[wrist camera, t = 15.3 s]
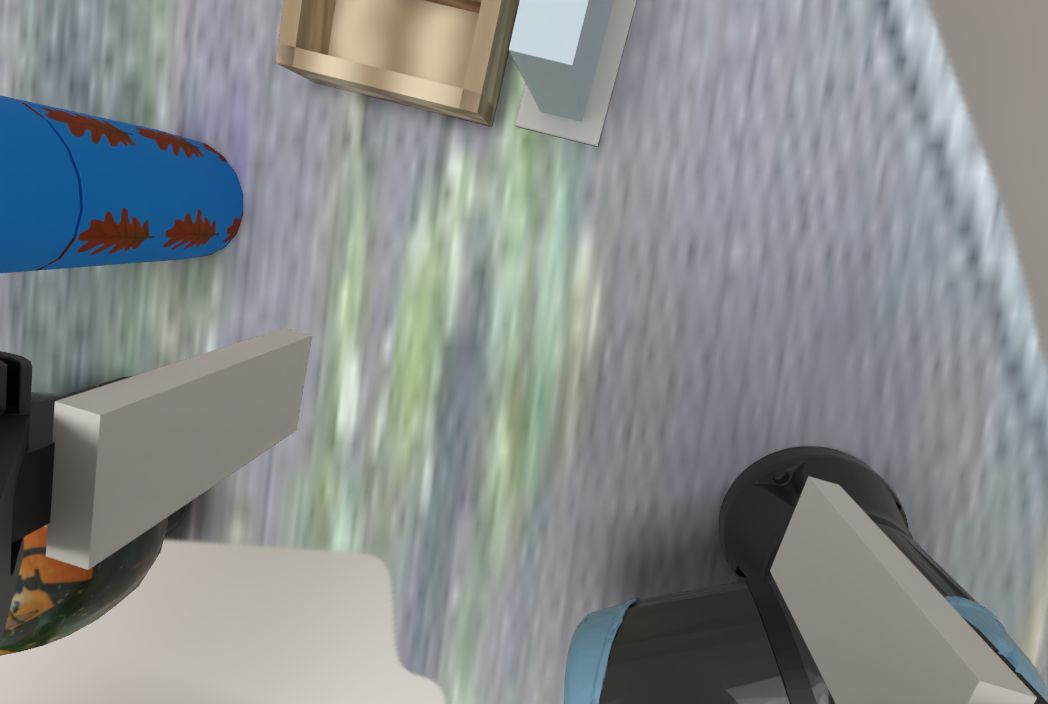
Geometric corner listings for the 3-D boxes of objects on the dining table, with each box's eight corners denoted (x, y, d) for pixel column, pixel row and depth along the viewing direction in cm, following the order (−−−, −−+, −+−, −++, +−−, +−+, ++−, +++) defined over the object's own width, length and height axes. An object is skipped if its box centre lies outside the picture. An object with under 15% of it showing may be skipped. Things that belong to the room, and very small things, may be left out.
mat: (647, -40, 44) (648, -44, 44) (597, 146, 48) (597, 145, 47) (559, -60, 45) (559, -64, 44) (516, 126, 48) (515, 125, 48)
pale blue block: (582, 122, 47) (572, 65, 30) (540, 111, 47) (508, 50, 31) (620, -27, 44) (632, -177, 28) (576, -37, 44) (562, -192, 28)
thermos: (265, 184, 52) (-27, 148, 28) (212, 281, 55) (-97, 324, 30) (167, 112, 52) (-215, 11, 27) (118, 212, 54) (-270, 200, 30)
